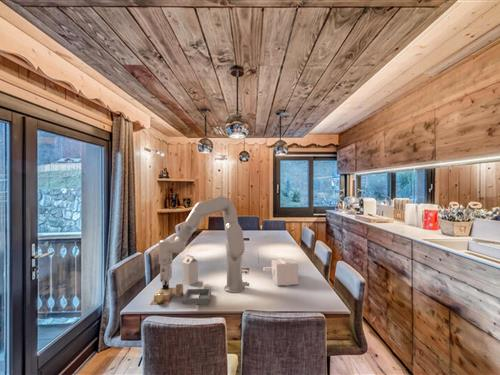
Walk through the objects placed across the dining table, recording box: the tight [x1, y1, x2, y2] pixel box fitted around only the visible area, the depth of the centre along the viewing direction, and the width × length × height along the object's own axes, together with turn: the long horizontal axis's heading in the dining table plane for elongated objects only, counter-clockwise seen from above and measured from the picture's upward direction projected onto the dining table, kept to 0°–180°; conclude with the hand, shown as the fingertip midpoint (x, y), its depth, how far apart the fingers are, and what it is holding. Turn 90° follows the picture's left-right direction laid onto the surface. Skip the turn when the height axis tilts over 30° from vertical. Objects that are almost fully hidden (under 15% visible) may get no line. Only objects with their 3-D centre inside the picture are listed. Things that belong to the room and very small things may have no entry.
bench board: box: [149, 287, 176, 306], centre depth 150 cm, size 10×23×1 cm, turn 4°
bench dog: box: [157, 293, 164, 306], centre depth 141 cm, size 4×4×5 cm
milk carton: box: [181, 254, 199, 286], centre depth 171 cm, size 7×7×19 cm
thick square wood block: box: [153, 289, 172, 301], centre depth 148 cm, size 8×8×3 cm
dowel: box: [175, 283, 184, 297], centre depth 151 cm, size 4×4×7 cm
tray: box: [182, 287, 212, 306], centre depth 147 cm, size 14×14×4 cm
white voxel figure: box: [262, 257, 299, 287], centre depth 180 cm, size 15×25×28 cm
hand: (165, 291), depth 154 cm, fingers closed
